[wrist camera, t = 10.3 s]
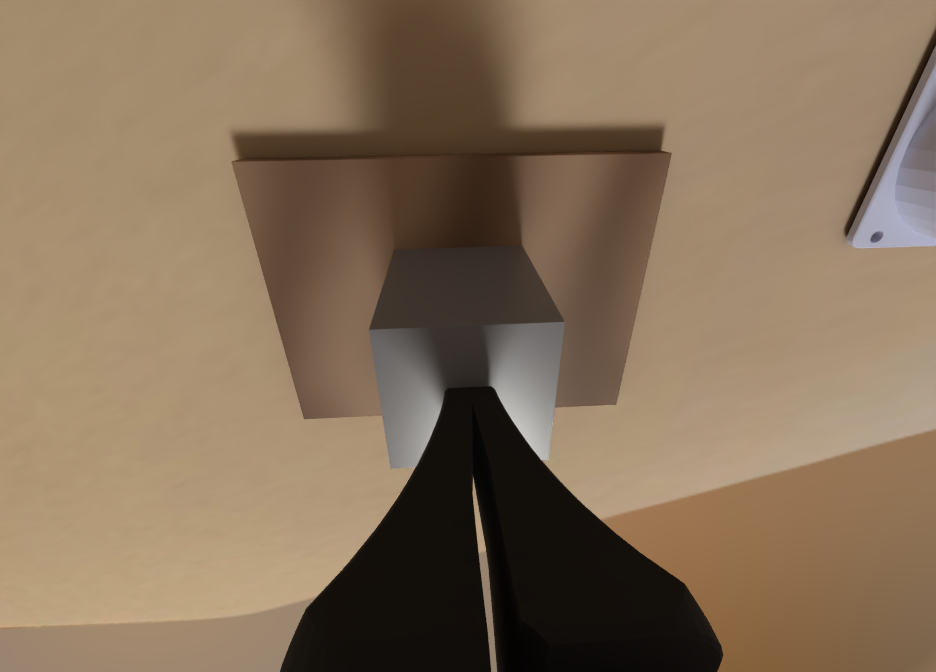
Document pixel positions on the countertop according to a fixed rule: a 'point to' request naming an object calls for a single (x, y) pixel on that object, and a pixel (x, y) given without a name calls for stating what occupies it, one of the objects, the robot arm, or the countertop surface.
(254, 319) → the countertop surface
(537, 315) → the gray rectangular prism
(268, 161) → the flat brown plate
